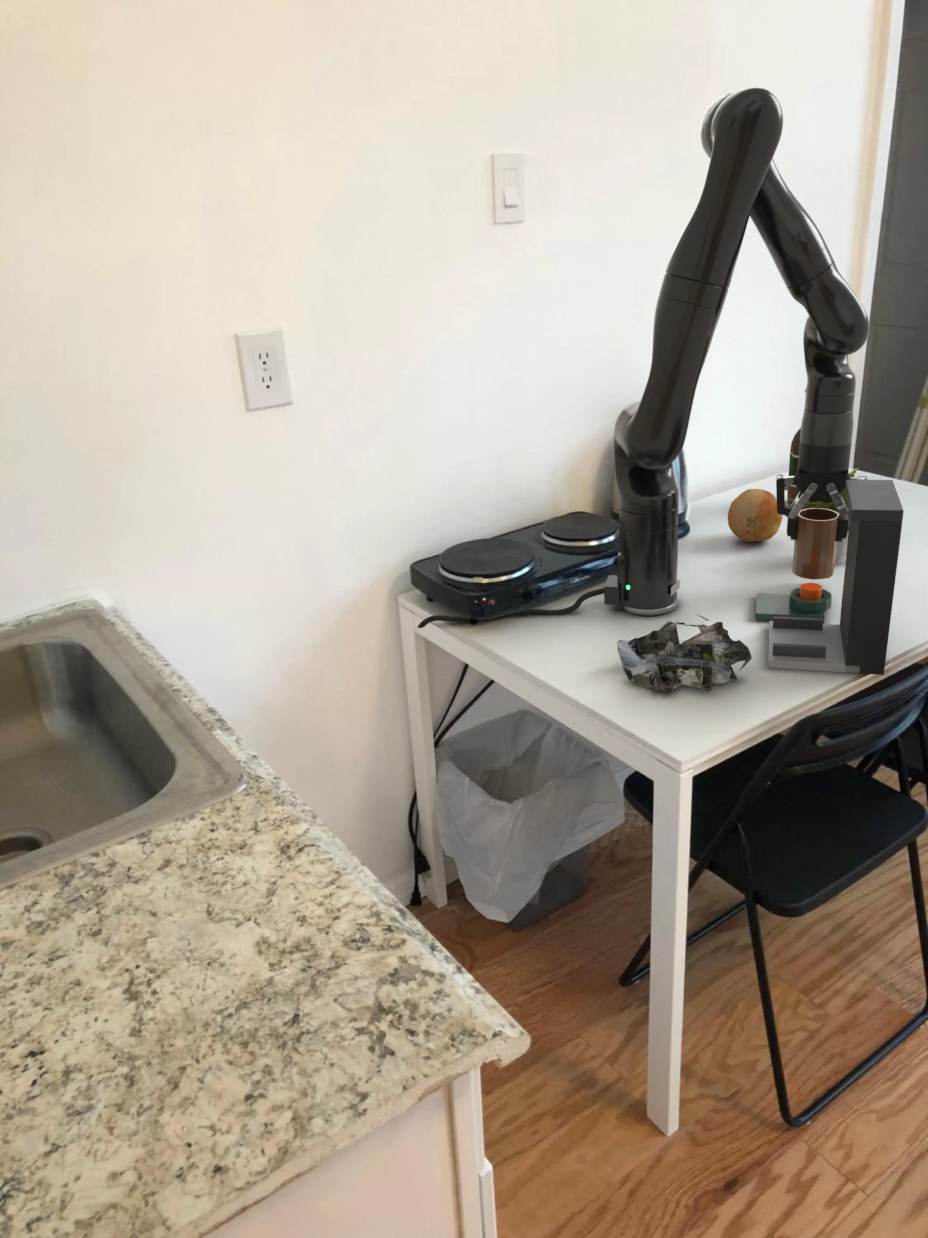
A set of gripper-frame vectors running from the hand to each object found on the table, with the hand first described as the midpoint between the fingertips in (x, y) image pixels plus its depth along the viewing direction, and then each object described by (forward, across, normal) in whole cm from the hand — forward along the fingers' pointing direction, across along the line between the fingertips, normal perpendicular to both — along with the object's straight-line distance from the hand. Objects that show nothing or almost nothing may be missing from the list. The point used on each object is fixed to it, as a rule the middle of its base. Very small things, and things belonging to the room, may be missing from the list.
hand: (816, 539), depth 151 cm
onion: (+9, -10, +21) cm, 25 cm away
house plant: (+9, +3, +14) cm, 17 cm away
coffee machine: (+9, 0, -23) cm, 24 cm away
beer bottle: (+8, 0, +43) cm, 44 cm away
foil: (+9, -19, -34) cm, 40 cm away
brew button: (+6, -1, -10) cm, 11 cm away
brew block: (+9, -4, -10) cm, 14 cm away
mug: (+6, 0, +1) cm, 6 cm away
